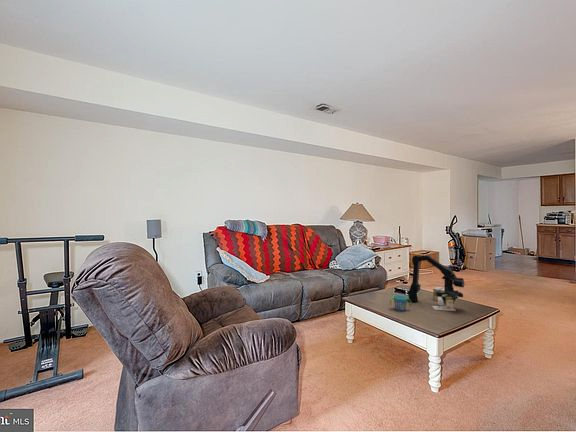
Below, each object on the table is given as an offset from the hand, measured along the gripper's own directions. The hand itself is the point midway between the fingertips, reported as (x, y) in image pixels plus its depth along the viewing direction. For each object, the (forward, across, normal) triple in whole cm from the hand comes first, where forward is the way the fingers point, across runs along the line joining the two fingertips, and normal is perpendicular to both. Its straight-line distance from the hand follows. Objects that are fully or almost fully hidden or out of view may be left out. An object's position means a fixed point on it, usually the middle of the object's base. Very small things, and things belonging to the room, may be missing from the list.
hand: (448, 304), depth 218 cm
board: (+3, -4, 0) cm, 5 cm away
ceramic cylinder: (+3, -3, +9) cm, 10 cm away
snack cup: (+4, -37, -6) cm, 38 cm away
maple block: (+1, 0, 0) cm, 1 cm away
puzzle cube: (+4, +2, +22) cm, 23 cm away
